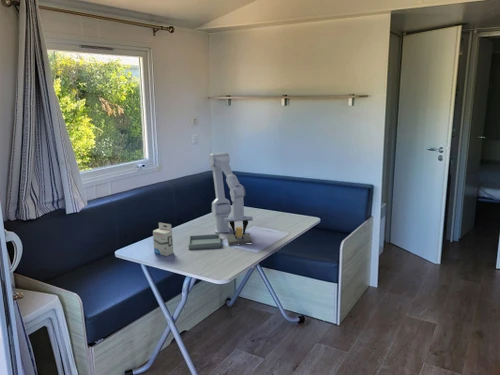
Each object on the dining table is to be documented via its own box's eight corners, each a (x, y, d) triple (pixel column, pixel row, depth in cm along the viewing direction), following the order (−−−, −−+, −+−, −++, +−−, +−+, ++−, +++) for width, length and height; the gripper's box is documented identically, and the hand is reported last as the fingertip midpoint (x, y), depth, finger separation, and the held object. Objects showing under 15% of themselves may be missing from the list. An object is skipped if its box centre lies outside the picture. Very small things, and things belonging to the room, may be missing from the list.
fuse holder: (227, 237, 235) (227, 234, 235) (249, 236, 237) (249, 232, 236) (228, 245, 224) (228, 241, 223) (252, 244, 225) (251, 240, 224)
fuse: (236, 239, 232) (235, 227, 230) (241, 239, 232) (241, 226, 231) (236, 242, 228) (236, 229, 227) (242, 242, 228) (242, 229, 227)
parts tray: (189, 240, 233) (189, 235, 233) (219, 238, 235) (219, 233, 234) (188, 249, 220) (188, 244, 219) (220, 247, 221) (220, 242, 221)
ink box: (153, 253, 216) (151, 224, 213) (160, 250, 220) (158, 222, 217) (167, 256, 212) (165, 227, 208) (174, 253, 216) (172, 224, 213)
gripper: (224, 212, 222) (225, 238, 225) (253, 210, 223) (253, 236, 226) (223, 208, 229) (224, 233, 232) (251, 207, 230) (252, 231, 233)
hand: (239, 234), depth 229 cm, fingers open, 4 cm apart
